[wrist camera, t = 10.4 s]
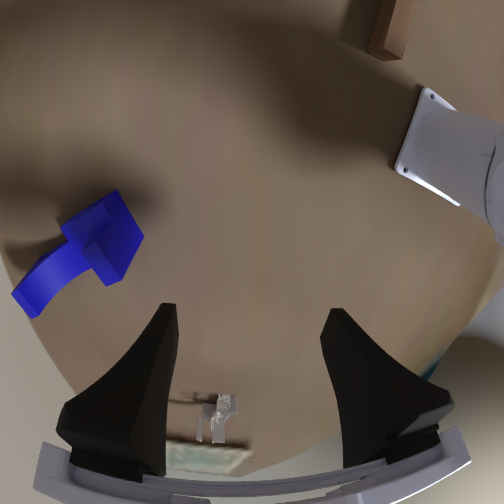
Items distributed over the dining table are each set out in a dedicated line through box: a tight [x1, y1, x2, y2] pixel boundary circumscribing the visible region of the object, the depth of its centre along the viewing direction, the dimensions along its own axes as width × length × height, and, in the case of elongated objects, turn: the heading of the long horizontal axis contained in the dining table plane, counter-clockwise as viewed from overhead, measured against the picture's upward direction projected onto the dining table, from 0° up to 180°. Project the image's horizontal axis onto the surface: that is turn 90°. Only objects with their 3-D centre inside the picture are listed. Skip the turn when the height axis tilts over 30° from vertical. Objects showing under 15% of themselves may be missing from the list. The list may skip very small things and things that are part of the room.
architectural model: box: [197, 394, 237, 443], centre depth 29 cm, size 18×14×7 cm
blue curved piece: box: [11, 190, 144, 319], centre depth 19 cm, size 12×4×6 cm, turn 111°
